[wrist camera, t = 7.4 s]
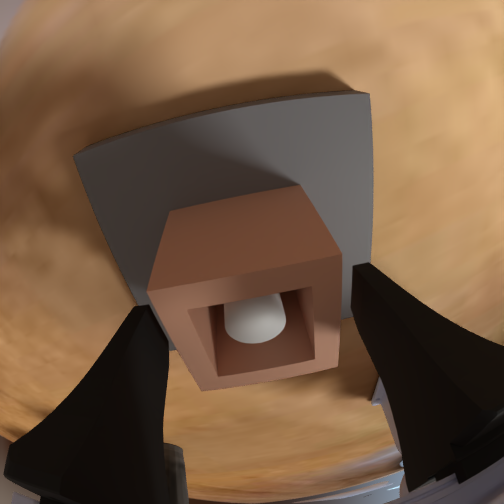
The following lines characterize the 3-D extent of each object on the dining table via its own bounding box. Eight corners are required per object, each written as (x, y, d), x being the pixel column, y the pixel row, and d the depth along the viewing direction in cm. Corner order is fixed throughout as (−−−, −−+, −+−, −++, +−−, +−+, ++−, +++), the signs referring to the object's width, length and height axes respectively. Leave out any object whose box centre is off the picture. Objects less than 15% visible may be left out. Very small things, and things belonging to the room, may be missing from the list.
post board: (357, 296, 18) (394, 374, 13) (167, 332, 18) (157, 417, 13) (354, 90, 11) (439, 113, 6) (86, 146, 12) (12, 203, 7)
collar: (309, 285, 15) (337, 366, 11) (203, 305, 15) (201, 391, 11) (300, 184, 12) (342, 253, 8) (169, 211, 12) (146, 291, 8)
